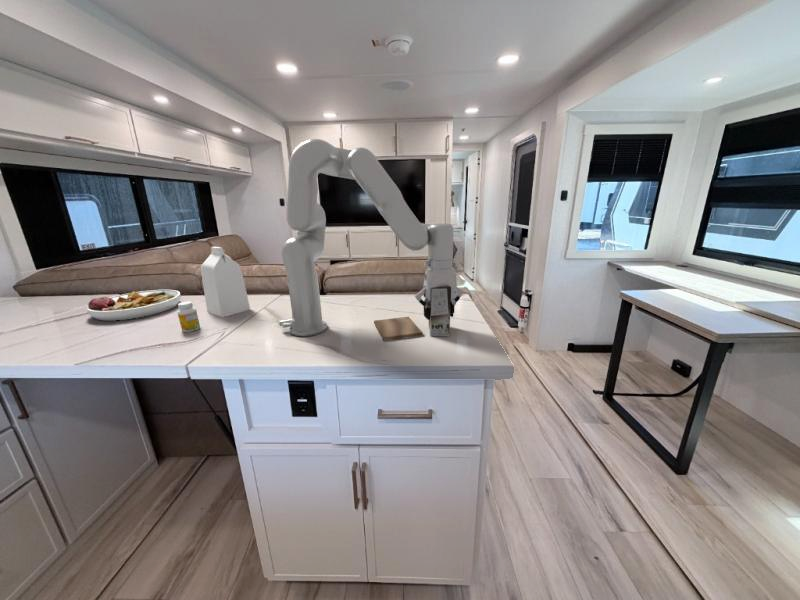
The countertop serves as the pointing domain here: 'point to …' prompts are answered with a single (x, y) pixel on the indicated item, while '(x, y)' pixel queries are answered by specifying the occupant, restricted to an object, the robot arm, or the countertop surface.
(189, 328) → the supplement bottle
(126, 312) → the plate of food
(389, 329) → the walnut board
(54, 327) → the countertop surface
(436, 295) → the coffee box
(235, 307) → the milk
